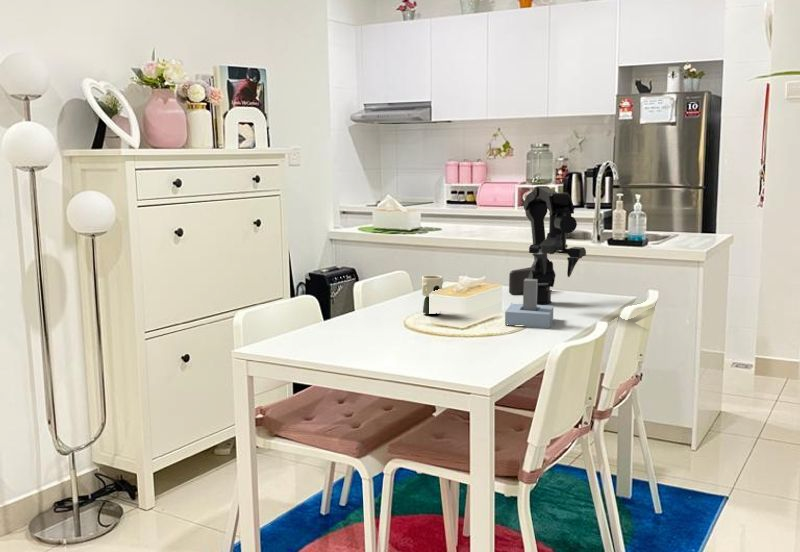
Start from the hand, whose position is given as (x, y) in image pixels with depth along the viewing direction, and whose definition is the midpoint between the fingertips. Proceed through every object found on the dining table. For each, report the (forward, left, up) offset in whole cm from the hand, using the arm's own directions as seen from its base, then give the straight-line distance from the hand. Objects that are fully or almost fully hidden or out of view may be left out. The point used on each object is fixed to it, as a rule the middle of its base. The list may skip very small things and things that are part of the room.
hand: (556, 275), depth 279 cm
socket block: (0, -18, -13) cm, 23 cm away
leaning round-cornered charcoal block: (-27, +27, -13) cm, 40 cm away
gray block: (0, -18, -12) cm, 22 cm away
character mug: (-32, -28, -13) cm, 45 cm away
